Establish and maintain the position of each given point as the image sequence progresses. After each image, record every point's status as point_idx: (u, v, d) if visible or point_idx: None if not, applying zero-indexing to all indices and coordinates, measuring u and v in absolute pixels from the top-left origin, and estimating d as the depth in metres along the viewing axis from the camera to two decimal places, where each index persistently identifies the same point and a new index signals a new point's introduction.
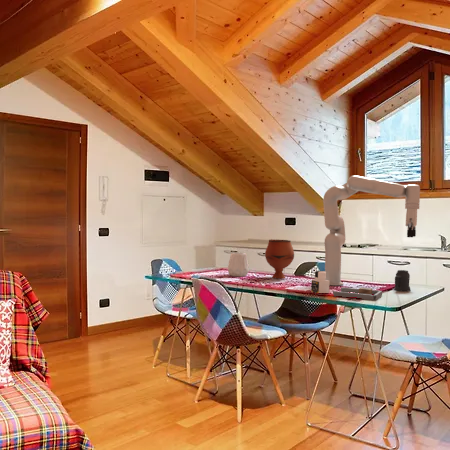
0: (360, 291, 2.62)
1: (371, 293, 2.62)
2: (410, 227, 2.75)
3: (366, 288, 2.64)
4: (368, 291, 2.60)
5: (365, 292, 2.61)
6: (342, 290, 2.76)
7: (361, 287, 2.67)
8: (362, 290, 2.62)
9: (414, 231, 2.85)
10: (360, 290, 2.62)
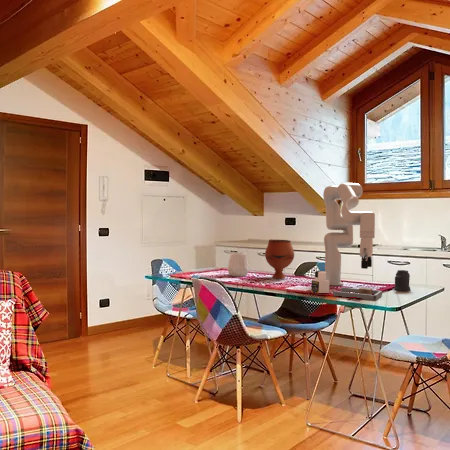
0: (360, 291, 2.62)
1: (371, 293, 2.62)
2: (364, 258, 2.56)
3: (366, 288, 2.64)
4: (368, 291, 2.60)
5: (365, 292, 2.61)
6: (342, 290, 2.76)
7: (361, 287, 2.67)
8: (362, 290, 2.62)
9: (370, 261, 2.66)
10: (360, 290, 2.62)
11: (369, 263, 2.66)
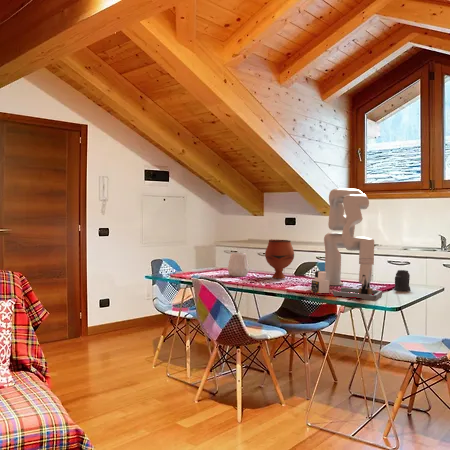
0: (360, 291, 2.62)
1: (371, 293, 2.62)
2: None
3: None
4: (368, 291, 2.60)
5: None
6: (342, 290, 2.76)
7: None
8: None
9: None
10: (360, 290, 2.62)
11: None
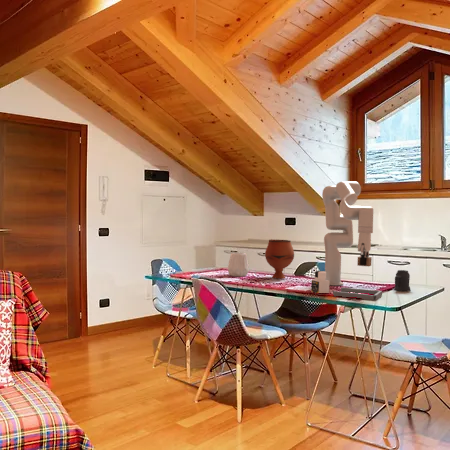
0: (359, 259, 2.62)
1: (370, 261, 2.62)
2: None
3: None
4: (367, 259, 2.60)
5: None
6: (342, 290, 2.76)
7: None
8: None
9: None
10: (359, 258, 2.62)
11: None
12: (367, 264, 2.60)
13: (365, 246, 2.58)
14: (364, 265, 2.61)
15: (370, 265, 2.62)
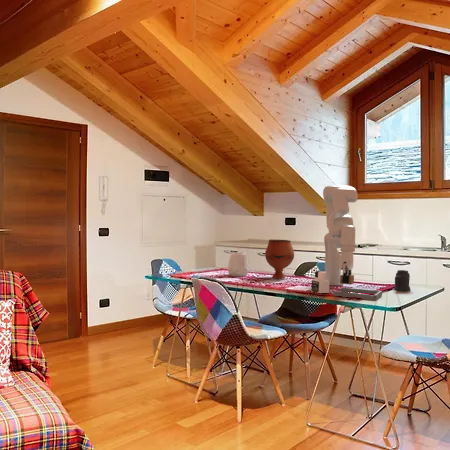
0: (341, 277, 2.67)
1: (352, 279, 2.67)
2: (345, 273, 2.63)
3: (348, 275, 2.68)
4: (349, 277, 2.64)
5: None
6: (342, 290, 2.76)
7: None
8: None
9: None
10: (341, 276, 2.67)
11: None
12: (349, 282, 2.64)
13: (347, 264, 2.62)
14: (346, 283, 2.65)
15: (352, 283, 2.67)
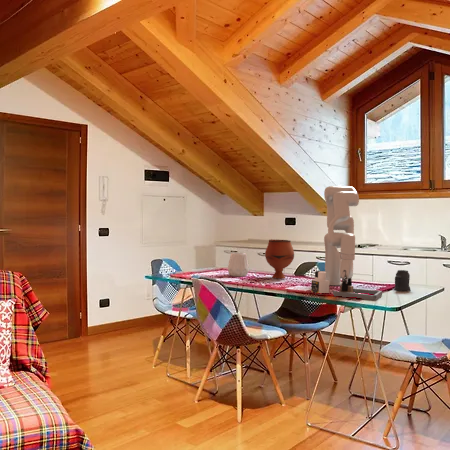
0: (341, 289, 2.67)
1: (352, 290, 2.67)
2: (344, 281, 2.62)
3: None
4: (349, 288, 2.65)
5: None
6: None
7: None
8: None
9: (350, 283, 2.71)
10: (341, 288, 2.67)
11: (349, 285, 2.71)
12: None
13: (347, 273, 2.63)
14: None
15: None
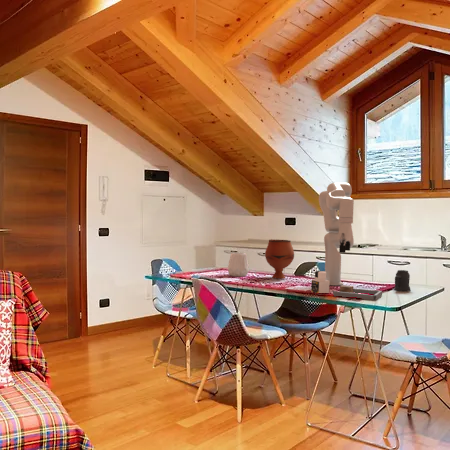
0: (341, 289, 2.67)
1: (352, 290, 2.67)
2: (342, 242, 2.68)
3: (347, 286, 2.68)
4: (349, 288, 2.65)
5: (346, 289, 2.66)
6: None
7: (342, 285, 2.71)
8: (343, 288, 2.66)
9: (348, 245, 2.78)
10: (341, 288, 2.67)
11: (347, 247, 2.78)
12: None
13: (345, 236, 2.69)
14: None
15: None
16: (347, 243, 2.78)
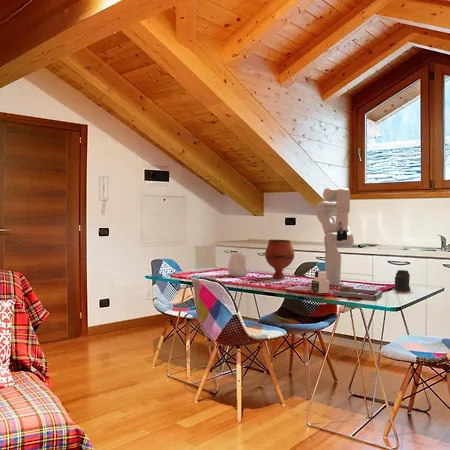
0: (341, 289, 2.67)
1: (352, 290, 2.67)
2: (339, 231, 2.76)
3: (347, 286, 2.68)
4: (349, 288, 2.65)
5: (346, 289, 2.66)
6: None
7: (342, 285, 2.71)
8: (343, 288, 2.66)
9: (345, 235, 2.86)
10: (341, 288, 2.67)
11: (345, 236, 2.86)
12: None
13: (342, 225, 2.77)
14: None
15: None
16: (344, 233, 2.87)
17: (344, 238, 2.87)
